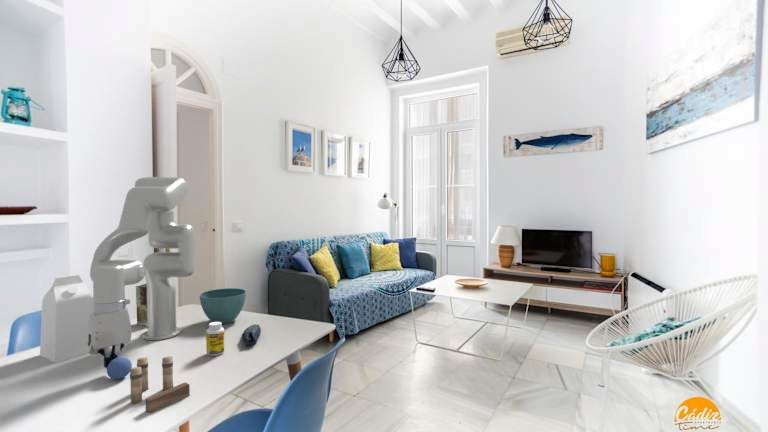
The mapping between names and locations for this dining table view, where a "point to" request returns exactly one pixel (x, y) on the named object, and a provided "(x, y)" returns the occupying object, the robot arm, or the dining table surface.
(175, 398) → the back wall
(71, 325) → the milk
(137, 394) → the back right pin
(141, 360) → the front pin
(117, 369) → the ball
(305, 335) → the dining table surface
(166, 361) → the back left pin
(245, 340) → the fish model
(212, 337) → the supplement bottle
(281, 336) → the dining table surface
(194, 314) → the dining table surface
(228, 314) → the teal bowl
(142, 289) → the coffee box
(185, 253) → the robot arm
